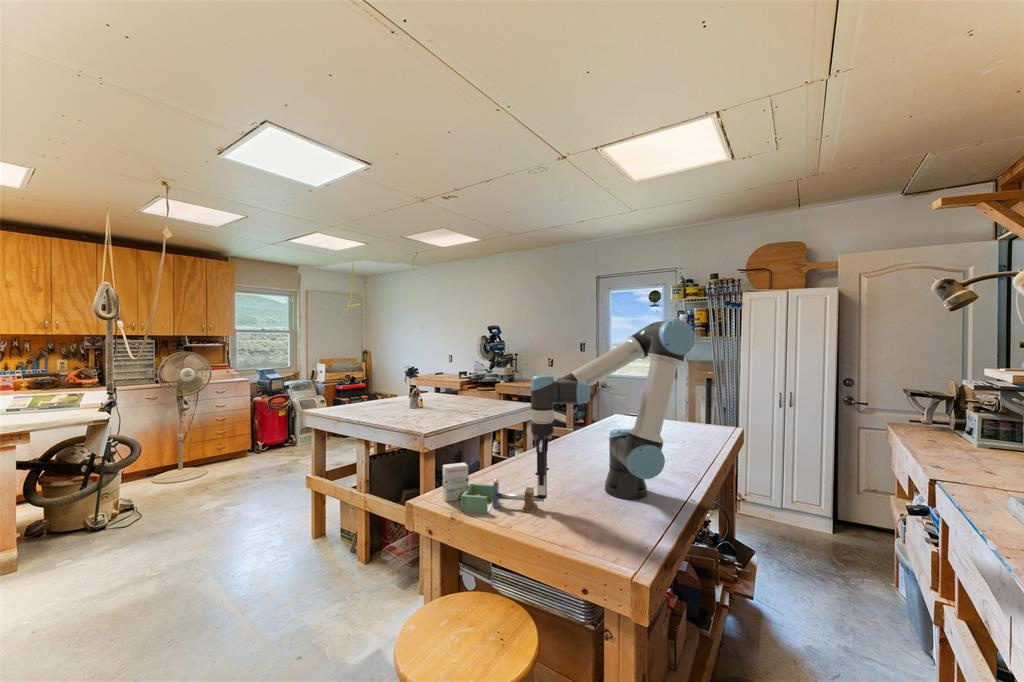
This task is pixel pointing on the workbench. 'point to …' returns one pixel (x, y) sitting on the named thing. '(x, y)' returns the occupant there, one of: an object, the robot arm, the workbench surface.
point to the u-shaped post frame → (514, 496)
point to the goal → (477, 498)
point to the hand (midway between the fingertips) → (542, 492)
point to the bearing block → (529, 501)
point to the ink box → (454, 481)
